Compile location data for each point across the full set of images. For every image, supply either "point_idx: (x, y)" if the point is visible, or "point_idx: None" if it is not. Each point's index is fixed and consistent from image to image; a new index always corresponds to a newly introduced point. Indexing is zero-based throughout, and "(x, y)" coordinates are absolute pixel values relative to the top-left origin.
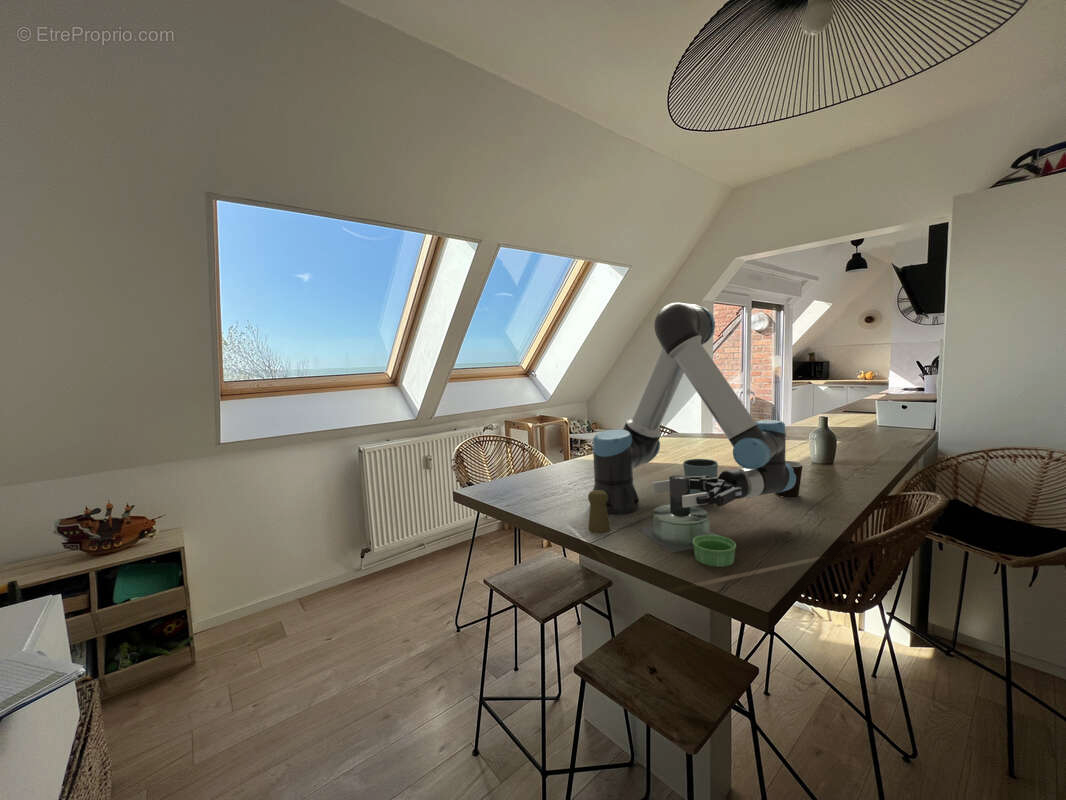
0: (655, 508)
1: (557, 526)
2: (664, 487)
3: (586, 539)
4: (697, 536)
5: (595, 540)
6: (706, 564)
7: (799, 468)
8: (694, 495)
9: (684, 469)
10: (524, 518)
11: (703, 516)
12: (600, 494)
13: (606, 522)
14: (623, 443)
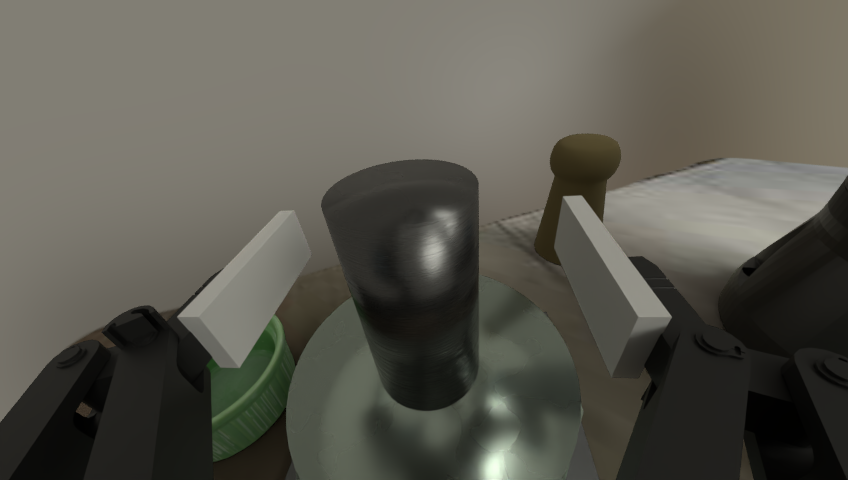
0: (526, 298)
1: (610, 200)
2: (578, 271)
3: (518, 221)
4: (278, 344)
5: (507, 230)
6: None
7: None
8: (246, 248)
9: None
10: (669, 173)
11: (309, 430)
12: (560, 143)
13: (547, 229)
14: None
